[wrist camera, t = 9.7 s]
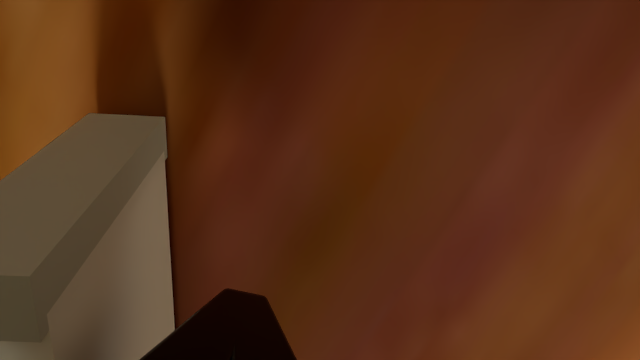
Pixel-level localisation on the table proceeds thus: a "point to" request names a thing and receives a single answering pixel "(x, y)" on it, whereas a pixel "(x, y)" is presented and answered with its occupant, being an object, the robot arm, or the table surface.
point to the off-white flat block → (87, 244)
